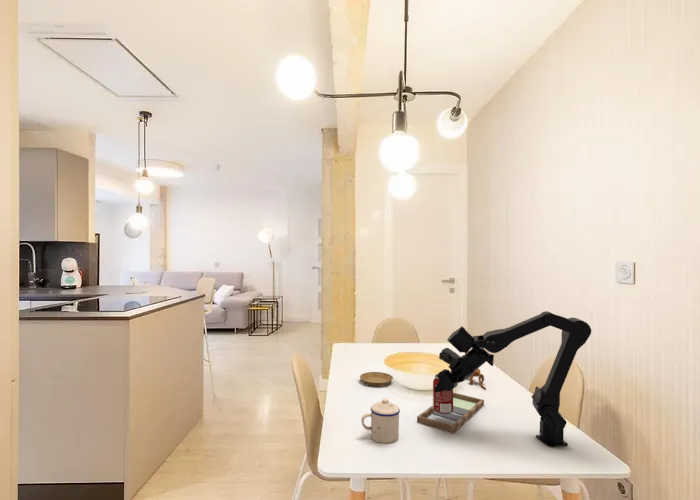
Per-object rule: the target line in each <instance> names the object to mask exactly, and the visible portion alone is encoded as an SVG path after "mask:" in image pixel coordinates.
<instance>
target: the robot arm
mask: <svg viewBox="0 0 700 500" xmlns="http://www.w3.org/2000/svg"><path fill="white" fill-rule="evenodd" d="M547 327H554V328H555V329H558V330H560V331H561V341H560V342H561V344H560V346H559V349H558V352H557V354H556V356H555V358H554V361H553V363H552V366H551V368H550V371H549V374H548V376H547V378H546V380H545V383H544V384H543V385H542V386H541V387H539V386H535V389H534V391H533V392H534V393H533V394H532V395H531V399H532V405H533V408H534V409H535V411H536V413H537V414H538V415H539V416H540V418H539V434H536V435H535V438H537V439H538V440H540V441H541V442H542V443H543V444H545V445H546V446H547V447H549V448H550V447H551V448H552V447H553V448H554V447H563V446H569V443H568V442H567V441H565V440H564V431H565V428H566V425H567V420H566V419H565V418H564V417H563V415H562V414H561V413H560V404H561V391H562V388H563V387H564V383H565V381H566V379H567V377H568V374H569V371H570V369H571V367H572V364H573V362H574V360H575V357H576V355H577V352H578V351H579V349H580V348H582V347H583V346H584V345H585V344H586V342H587V341H588V339H589V337H590V336H591V335H592V328H591V326H590V324H588V322H586V321H584V320H582V319H580V318H577V317H569V318H567V317H565V316H561V315H558V314H554V313H552V312H550V311H549V310H548V311H547V310H545V311H542V312H541V313H540V314H537V315H535V316H533V317H530V318H528V319H525V320H523V321H521V322H518V323H515V324H513V325H511V326H509V327H506V328H499V329H493V330H489V331H486V332H485V333H484V334H481V335H471V334H470V333H469V332H468V330H466V328H465V327H464V326H460V327H459V328H457V329H456V330H455V331H453V332H452V333H451V334H450V335H449V337H448V338H447V339H446V341H447V342H448V343H449V344H450V345H451V346H453V348H455V349H456V351H458V352H459V353H460V354H462V353H463V354H464V355H463V354H462V355H459V354H458V353H456V352H455V351H454V350H452V349H450V348H449V347H445V348H443V349H442V350H441V352H440V353H439V355H438V358H439V360H441V361H443V362H444V363H446V364H448V368H449V369H446V368H445V369H443V370H440V371H439V372H438V373H437V377H438V378H439V380H440V381H439V382H438V384H437V386H436V387H435V389H434V391H435V392H441V391H447V390H448V391H451V390H452V389H453V390H454V389H455V388H456V387H457V386H458V384H460V383H462V382H463V383H464V382H465V381H466V380H468V379H470V376H472V375H473V372H474V371H476V370H477V369H480V368H481V367H482V366H483V365H484V364H485V363H486V362H487V364H489V365H490V366H491V367H493V366H494V361H495V360H494V357H495V354H497V353H500V352H501V351H502V350H504V349H506V348H507V347H508V346H510V345H511V344H512V343H513V342H515V341H516V340H519V339H522V338H524V337H526V336H529V335H531V334H533V333H536V332H538V331H541V330H543V329H546V328H547ZM468 351H469V352H468ZM466 352H467V353H466ZM465 353H466V354H465Z"/></svg>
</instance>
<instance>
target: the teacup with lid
mask: <svg viewBox="0 0 700 500" xmlns="http://www.w3.org/2000/svg"><path fill="white" fill-rule="evenodd" d="M370 411H371V413H370V412H369V413H365V414H363V415H362V417H361V419H360V420H361V425H362V427H363V429H364V430H366V431H370V436H371V438H372V439H373V440H374V441H376V442H379V443H383V444H390V443H394V442H396V441H398V439H399V437H400V436H399V435H400V434H399V431H400V430H399V429H400V426H399V425H400V412H401V410H400V407H399V406H398V405H397V404H395V403H393V402H390V401H389V399H388V398H382V399H381V401H378V402H375V403H373V404H372V405H371V407H370ZM369 417H371V419H370V421H371V422H370V426H367V425H366V424H365V419H366V418H369Z"/></svg>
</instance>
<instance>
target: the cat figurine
mask: <svg viewBox="0 0 700 500" xmlns="http://www.w3.org/2000/svg"><path fill="white" fill-rule="evenodd" d="M469 351H470V350H469ZM469 351H468V352H469ZM466 353H467V352H466ZM466 353H464V355H465V354H466ZM474 377H475V378H476V377H478V378H477V379H478V384H479V385H480V387H481V388H482V389H484V390H487V388H486V387H485V386H484V384H483V383H484V381H485V376H484V374H482V373H481V369H480V368H478V369H477V370H476V371H474V372H473V375H472V376H470V377H469V379H470V380H469V384H470V385H472V384H473V383H474V379H473V378H474Z"/></svg>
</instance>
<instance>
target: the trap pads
mask: <svg viewBox="0 0 700 500" xmlns="http://www.w3.org/2000/svg"><path fill="white" fill-rule="evenodd" d="M467 412H468V410H464V409H460V408H456V407H453V412H452V413H450V414H439V413H437V412H436V411H435V412H433V413H432V414H431V415H435V416H438V417H442V418H445V419H448V420H451V421H455V422H457V421H458V420H459V419H460V418H461V417H462V416H463V415H465V414H466V413H467Z"/></svg>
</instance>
